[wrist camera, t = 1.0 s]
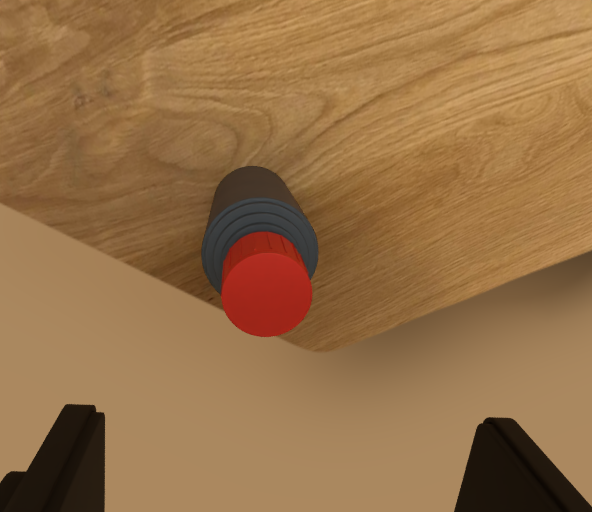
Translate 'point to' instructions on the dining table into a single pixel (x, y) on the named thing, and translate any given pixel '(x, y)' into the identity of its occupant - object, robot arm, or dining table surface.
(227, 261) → the cap
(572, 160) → the dining table surface
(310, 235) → the bottle
